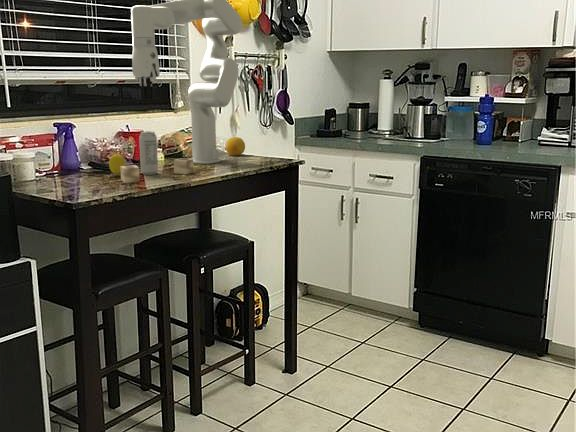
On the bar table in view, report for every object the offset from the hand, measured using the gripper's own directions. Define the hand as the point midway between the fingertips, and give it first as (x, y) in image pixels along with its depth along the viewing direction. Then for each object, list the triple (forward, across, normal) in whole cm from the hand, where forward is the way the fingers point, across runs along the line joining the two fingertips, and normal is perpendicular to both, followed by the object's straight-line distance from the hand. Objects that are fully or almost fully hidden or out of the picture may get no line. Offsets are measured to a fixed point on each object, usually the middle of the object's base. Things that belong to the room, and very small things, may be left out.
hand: (146, 97), depth 219 cm
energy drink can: (+27, 0, 0) cm, 27 cm away
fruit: (+28, +11, -53) cm, 60 cm away
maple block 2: (+27, -7, -10) cm, 30 cm away
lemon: (+27, +5, +10) cm, 30 cm away
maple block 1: (+27, -7, +13) cm, 31 cm away
